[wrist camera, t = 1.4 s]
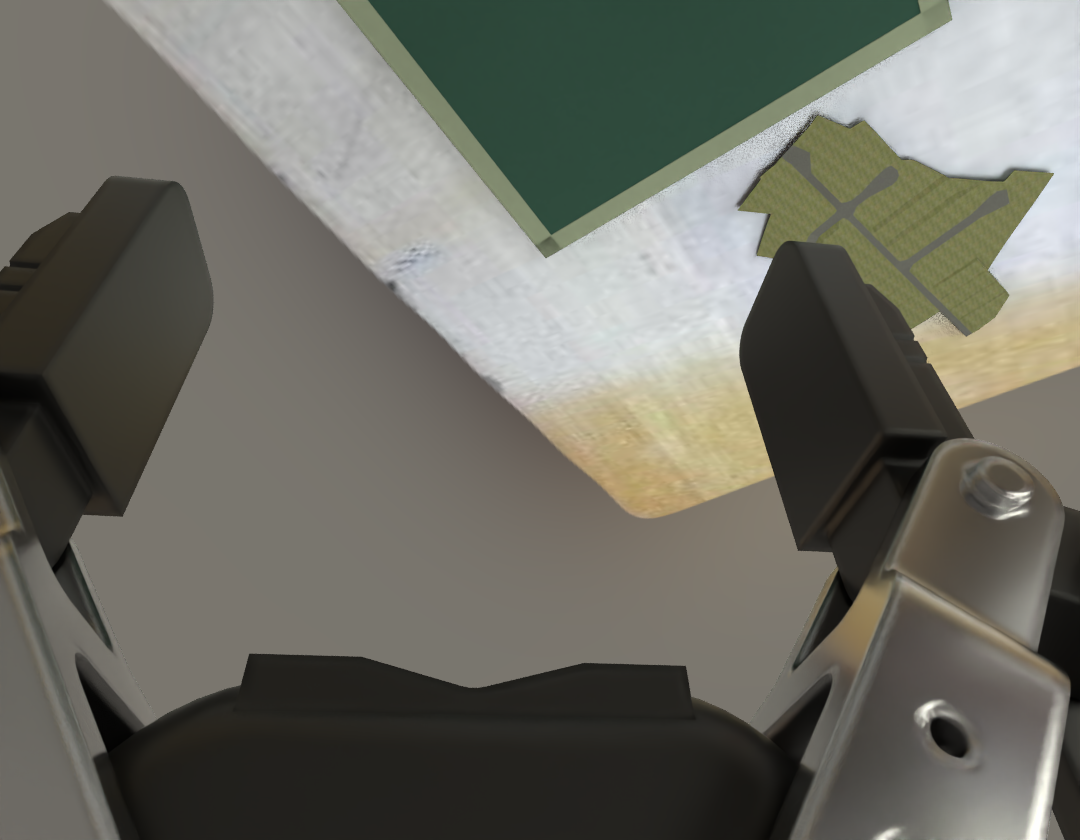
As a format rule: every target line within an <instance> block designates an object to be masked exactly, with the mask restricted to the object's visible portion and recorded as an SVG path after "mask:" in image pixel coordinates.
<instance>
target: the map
mask: <svg viewBox="0 0 1080 840" xmlns="http://www.w3.org/2000/svg"><path fill="white" fill-rule="evenodd" d="M1053 175H1054V173H1044V172H1030V171H1016V170H1014V171H1013V172H1012V173H1011V174H1010V176H1009V177H1008V178H1007V179H1006V180H1005V181H1004V182H999V181H980V180H970V179H958V178H948V177H946V176H945V175H943V174H941V173H939V172H937V171H935V170H933V169H931V168H929V167H927V166H925V165H923V164H921V163H919V162H917V161H914V160H901V159H900V158H899V157H898V156H897V155H896V154H895V152H894V151H893V150H892V149H891V148H890V147H889V146H888V145H887V144H886V143H885V142H884V141H883V140H882V139H881V138H880V136H879V135H878V134H877V133H876V132H875V131H874V130H873V129H872V128H871V127H870V126H869V125H868V124H867V123H866V122H865V121H862V122H860V123H859V124H857V125H855V126H854V127H852V128H847V127H845V126H842V125H840V124H837V123H835V122H833V121H830V120H828V119H825V118H823V117H820V116H818V115H817V117H816V118H815V119H814V121H813V122H812V124H811V125H810V126H809V128H808V129H807V130H806V131H805V132H804V133H803V134H802V135H801V136H800V137H799V138H798V139H797V141H796V142H795V143H794V144H793V145H792V146H791V147H790V148H789V149H788V150H787V152H786V153H785V154H784V155H783V156H782V157H781V158H780V159H779V160H778V162H777V163H776V164H775V165H774V166H773V167H772V168H770V169H769V170H768V171H767V172H765V173H764V174H763V175H762V176H761V177H759V178H761V180H760V181H759V183H758V184H757V185H756V187H755V188H754V189H753V190H752V192H751V193H750V194H749V196H748V197H747V198H746V200H745V201H744V202H743V204H742V205H741V206H740V208H739V209H738V211H747V212H757V213H766V214H771V215H770V218H769V220H768V223H767V226H766V229H765V232H764V234H763V237H762V240H761V243H760V246H759V249H758V253H757V256H762V257H769V258H774V256H775V254H776V252H777V250H778V249H779V247H780V246H781V245H782V244H783V243H784V242H786V241H800V242H810V243H821V244H832V245H840V246H842V247H843V248H845V250H846V251H847V253H848V254H849V256H850V258H851V260H852V262H853V264H854V265H855V267H856V269H857V271H858V273H859V274H860V276H861V278H862V280H863V282H864V284H872V285H873V286H874V287H875V288H876V289H877V290H878V291H879V292H880V293H882V294H883V295H884V296H885V297H886V298H887V299H888V300H889V301H891V302H892V303H893V304H894V305H895V306H896V307H897V308H898V309H899V310H900V312H901V313H902V315H903V317H904V319H905V320H906V322H907V324H908V325H909V327H910V329H912V328H914V327H915V326H917V325H919V324H920V323H922V322H924V321H925V320H927V319H928V318H930V317H932V316H933V315H935V314H936V313H938V312H941V313H942V314H943V315H944V316H945V317H946V318H947V319H949V320H950V321H951V322H952V323H953V324H954V325H955V326H956V327H957V328H958V329H959V330H960V331H961V332H962V333H963V334H964V335H965V336H968V335H970V334H971V333H973V332H975V331H977V330H979V329H980V328H981V327H983V326H984V325H985V324H987V323H988V322H989V321H991V320H992V319H993V318H995V317H996V315H997V314H998V312H999V310H1000V309H1001V307H1002V306H1003V304H1004V303H1005V301H1006V300H1007V298H1008V297H1009V294H1008V293H1007V291H1006V290H1005V289H1004V288H1003V287H1002V286H1001V285H1000V284H999V282H998V281H997V280H996V279H995V278H994V277H993V276H992V275H991V274H990V272H989V271H988V269H989V267H990V266H991V264H992V262H993V261H994V259H995V258H996V256H997V255H998V253H999V252H1000V250H1001V249H1002V247H1003V246H1004V244H1005V243H1006V241H1007V240H1008V238H1009V237H1010V236H1011V234H1012V233H1013V231H1014V230H1015V229H1016V227H1017V226H1018V224H1019V223H1020V222H1021V220H1022V219H1023V217H1024V216H1025V215H1026V213H1027V212H1028V210H1029V209H1030V208H1031V206H1032V205H1033V203H1034V202H1035V201H1036V199H1037V198H1038V196H1039V195H1040V193H1041V192H1042V190H1043V189H1044V188H1045V186H1046V185H1047V183H1048V182H1049V180H1050V179H1051V177H1052V176H1053ZM827 219H828V220H827ZM982 264H983V265H984V266H983V265H982Z"/></svg>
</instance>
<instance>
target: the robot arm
mask: <svg viewBox="0 0 1080 840" xmlns="http://www.w3.org/2000/svg"><path fill="white" fill-rule="evenodd" d="M212 314H213V288H212V282H211V278H210V274H209V271H208V267H207V263H206V260H205V256H204V253H203V249H202V246H201V242H200V238H199V235H198V231H197V228H196V224H195V221H194V217H193V213H192V210H191V206H190V203H189V200H188V197H187V194H186V192H185V190H184V189H183V187H182V186H181V185H180V184H179V183H177V182H174V181H164V180H154V179H142V178H132V177H121V176H111V177H110V178H108V179H107V180H106V181H105V182H104V183H103V185H102V186H101V187H100V189H99V190H98V191H97V192H96V194H95V195H94V196H93V197H92V199H91V200H90V201H89V203H88V204H87V205H86V206H85V208H84V209H83V210H82V212H81V213H74V212H69V213H67V214H65V215H63V216H62V217H60V218H58V219H57V220H55V221H53V222H51V223H50V224H48V225H46V226H45V227H43V228H41V229H39V230H38V231H36V232H34V233H33V234H31V236H30V237H29V238H28V239H27V240H26V242H25V243H24V244H23V245H22V247H21V248H20V249H19V250H18V251H17V252H16V254H15V255H14V256H13V257H12V258H11V260H10V267H6V266H5V267H4V268H3V269H2V270H1V272H0V840H1047V834H1048V828H1049V821H1050V816H1051V810H1053V813H1054V815H1055V817H1056V820H1057V822H1058V824H1059V827H1060V829H1061V832H1062V834H1063V837H1064V839H1065V840H1080V511H1077V510H1074V509H1071V508H1068V507H1065V506H1063V505H1062V502H1061V500H1060V497H1059V496H1058V494H1057V492H1056V491H1055V489H1054V488H1053V486H1052V485H1051V484H1050V483H1049V481H1048V480H1047V479H1046V478H1045V477H1044V476H1043V475H1042V474H1041V473H1040V472H1039V471H1038V470H1037V469H1036V468H1035V467H1033V466H1032V465H1031V464H1030V463H1028V462H1027V461H1025V460H1024V459H1022V458H1021V457H1019V456H1018V455H1016V454H1014V453H1013V452H1011V451H1009V450H1007V449H1005V448H1002V447H1000V446H998V445H995V444H992V443H989V442H986V441H982V440H977V439H974V437H973V435H972V434H971V432H970V430H969V429H968V427H967V425H966V423H965V422H964V420H963V418H962V417H961V415H960V413H959V411H958V410H957V408H956V406H955V405H954V403H953V401H952V399H951V398H950V396H949V394H948V392H947V391H946V389H945V387H944V386H943V384H942V382H941V380H940V379H939V377H938V375H937V374H936V372H935V370H934V368H933V367H932V365H931V364H929V363H926V360H927V356H926V355H925V353H924V351H923V349H922V348H921V346H920V344H919V343H918V341H914V334H913V332H912V331H911V329H910V327H909V325H908V324H907V322H906V320H905V319H904V317H903V315H902V313H901V312H900V310H899V309H898V308H897V307H896V306H895V305H894V304H893V303H892V302H891V301H889V300H888V299H887V298H886V297H885V296H884V295H883V294H882V293H880V292H879V291H878V290H877V289H876V288H875V287H874V286H873V285H872V284H864V282H863V280H862V278H861V276H860V274H859V273H858V271H857V269H856V267H855V265H854V264H853V262H852V260H851V258H850V256H849V254H848V253H847V251H846V250H845V248H843V247H842V246H840V245H832V244H821V243H810V242H800V241H786V242H784V243H783V244H782V245H781V246H780V247H779V249H778V250H777V252H776V254H775V256H774V258H773V260H772V262H771V265H770V267H769V269H768V272H767V274H766V276H765V279H764V281H763V283H762V286H761V288H760V290H759V292H758V295H757V297H756V299H755V302H754V304H753V306H752V309H751V311H750V313H749V316H748V318H747V320H746V322H745V325H744V328H743V331H742V335H741V340H740V350H739V357H740V366H741V370H742V373H743V376H744V379H745V382H746V386H747V389H748V392H749V395H750V398H751V402H752V405H753V408H754V411H755V414H756V418H757V421H758V424H759V427H760V430H761V434H762V437H763V440H764V443H765V446H766V450H767V453H768V456H769V459H770V462H771V465H772V469H773V472H774V475H775V478H776V481H777V485H778V488H779V491H780V494H781V497H782V500H783V504H784V507H785V510H786V513H787V517H788V520H789V523H790V526H791V529H792V533H793V536H794V539H795V542H796V545H797V549H798V551H819V552H833V555H834V558H835V561H836V564H837V567H836V568H835V569H834V571H833V572H832V573H831V574H830V576H829V577H828V579H827V580H826V582H825V584H824V586H823V588H822V590H821V592H820V594H819V596H818V598H817V600H816V603H815V604H814V607H813V609H812V611H811V613H810V615H809V617H808V619H807V621H806V623H805V625H804V627H803V629H802V631H801V633H800V635H799V637H798V639H797V641H796V643H795V645H794V647H793V649H792V652H791V653H790V656H789V657H788V659H787V661H786V663H785V666H784V668H783V670H782V672H781V674H780V676H779V678H778V680H777V682H776V683H775V685H774V687H773V688H772V690H771V692H770V694H769V695H768V697H767V698H766V699H765V701H764V702H763V704H762V705H761V706H760V708H759V709H758V711H757V712H756V714H755V716H754V717H753V719H752V720H751V722H750V723H749V724H748V723H746V722H744V721H743V720H741V719H739V718H737V717H736V716H734V715H732V714H730V713H729V712H727V711H725V710H723V709H721V708H719V707H716V706H714V705H712V704H709V703H707V702H705V701H703V700H700V699H697V698H694V697H691V694H690V688H689V682H688V676H687V670H686V666H668V665H634V664H630V665H629V664H598V663H582V664H578V665H574V666H570V667H566V668H561V669H557V670H553V671H549V672H545V673H541V674H536V675H532V676H529V677H524V678H520V679H516V680H511V681H507V682H503V683H499V684H495V685H491V686H487V687H482V688H468V687H463V686H459V685H456V684H452V683H449V682H445V681H442V680H439V679H435V678H432V677H428V676H425V675H422V674H418V673H415V672H411V671H408V670H405V669H401V668H398V667H395V666H391V665H388V664H384V663H381V662H378V661H374V660H371V659H367V658H363V657H348V656H313V655H277V654H276V655H275V654H249V657H248V661H247V664H246V668H245V672H244V676H243V679H242V684H241V685H240V686H236V687H232V688H228V689H224V690H222V691H219V692H216V693H213V694H210V695H208V696H205V697H202V698H199V699H196V700H194V701H192V702H190V703H188V704H186V705H184V706H182V707H180V708H178V709H175V710H173V711H171V712H169V713H167V714H165V715H164V716H162V717H160V718H159V719H157V718H156V717H155V714H154V712H153V710H152V709H151V707H150V705H149V703H148V701H147V699H146V697H145V696H144V694H143V692H142V691H141V689H140V687H139V686H138V684H137V682H136V680H135V679H134V677H133V675H132V673H131V671H130V669H129V667H128V665H127V662H126V660H125V658H124V656H123V653H122V651H121V649H120V646H119V644H118V642H117V639H116V637H115V635H114V632H113V630H112V627H111V625H110V623H109V620H108V618H107V616H106V613H105V611H104V609H103V606H102V604H101V602H100V599H99V597H98V595H97V592H96V590H95V588H94V585H93V583H92V580H91V578H90V576H89V573H88V571H87V569H86V566H85V564H84V562H83V559H82V557H81V555H80V552H79V550H78V548H77V546H76V545H75V543H74V541H73V540H72V539H71V536H72V534H73V532H74V530H75V528H76V526H77V524H78V522H79V520H80V518H81V516H82V515H100V516H123V514H124V512H125V510H126V508H127V506H128V503H129V501H130V499H131V497H132V495H133V492H134V490H135V488H136V486H137V483H138V481H139V479H140V477H141V475H142V473H143V471H144V468H145V466H146V464H147V462H148V460H149V457H150V455H151V453H152V451H153V449H154V446H155V444H156V442H157V440H158V438H159V436H160V433H161V431H162V429H163V427H164V425H165V422H166V420H167V418H168V416H169V414H170V412H171V409H172V407H173V405H174V403H175V400H176V398H177V396H178V394H179V392H180V390H181V387H182V385H183V383H184V381H185V379H186V376H187V374H188V372H189V370H190V367H191V366H192V363H193V361H194V359H195V357H196V355H197V352H198V350H199V348H200V346H201V344H202V341H203V339H204V337H205V335H206V333H207V331H208V328H209V326H210V322H211V319H212Z"/></svg>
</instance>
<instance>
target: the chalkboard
mask: <svg viewBox="0 0 1080 840" xmlns="http://www.w3.org/2000/svg"><path fill="white" fill-rule="evenodd" d="M337 2H338V3H339V4H340V5H341V7H342V8H343V9H344V10H345V11H346V13H347V14H348V15H349V16H350V18H351V19H352V20H353V21H354V23H355V24H356V25H357V26H358V27H359V29H360V30H361V31H362V32H363V34H364V35H365V36H366V37H367V39H368V40H369V41H370V42H371V43H372V45H373V46H374V47H375V48H376V50H377V51H378V52H379V53H380V55H381V56H382V57H383V58H384V60H385V61H386V62H387V63H388V64H389V66H390V67H391V68H392V69H393V71H394V72H395V73H396V74H397V76H398V77H399V78H400V79H401V80H402V82H403V83H404V84H405V85H406V87H407V88H408V89H409V90H410V92H411V93H412V94H413V95H414V96H415V98H416V99H417V100H418V101H419V103H420V104H421V105H422V106H423V108H424V109H425V110H426V111H427V113H428V114H429V115H430V116H431V117H432V119H433V120H434V121H435V122H436V124H437V125H438V126H439V127H440V129H441V130H442V131H443V132H444V133H445V135H446V136H447V137H448V138H449V140H450V141H451V142H452V143H453V145H454V146H455V147H456V148H457V149H458V151H459V152H460V153H461V154H462V156H463V157H464V158H465V159H466V161H467V162H468V163H469V164H470V165H471V167H472V168H473V169H474V170H475V172H476V173H477V174H478V175H479V177H480V178H481V179H482V180H483V182H484V183H485V184H486V185H487V186H488V188H489V189H490V190H491V191H492V193H493V194H494V195H495V196H496V198H497V199H498V200H499V201H500V202H501V204H502V205H503V206H504V207H505V209H506V210H507V211H508V212H509V214H510V215H511V216H512V217H513V218H514V220H515V221H516V222H517V223H518V225H519V226H520V227H521V228H522V230H523V231H524V232H525V233H526V234H527V236H528V237H529V238H530V239H531V241H532V242H533V243H534V244H535V246H536V247H537V248H538V249H539V251H540V252H541V253H542V254H543V255H544V257H545V258H547V257H549V256H551V255H552V254H554V253H556V252H558V251H559V250H561V249H563V248H564V247H566V246H568V245H570V244H571V243H573V242H575V241H576V240H578V239H580V238H581V237H583V236H585V235H587V234H588V233H590V232H592V231H593V230H595V229H597V228H598V227H600V226H602V225H604V224H605V223H607V222H609V221H610V220H612V219H614V218H616V217H617V216H619V215H621V214H622V213H624V212H626V211H627V210H629V209H631V208H633V207H634V206H636V205H638V204H639V203H641V202H643V201H644V200H646V199H648V198H650V197H651V196H653V195H655V194H656V193H658V192H660V191H662V190H663V189H665V188H667V187H668V186H670V185H672V184H673V183H675V182H677V181H679V180H680V179H682V178H684V177H685V176H687V175H689V174H690V173H692V172H694V171H696V170H697V169H699V168H701V167H702V166H704V165H706V164H708V163H709V162H711V161H713V160H714V159H716V158H718V157H719V156H721V155H723V154H725V153H726V152H728V151H730V150H731V149H733V148H735V147H736V146H738V145H740V144H742V143H743V142H745V141H747V140H748V139H750V138H752V137H754V136H755V135H757V134H759V133H760V132H762V131H764V130H765V129H767V128H769V127H771V126H772V125H774V124H776V123H777V122H779V121H781V120H782V119H784V118H786V117H788V116H789V115H791V114H793V113H794V112H796V111H798V110H800V109H801V108H803V107H805V106H806V105H808V104H810V103H811V102H813V101H815V100H817V99H818V98H820V97H822V96H823V95H825V94H827V93H828V92H830V91H832V90H834V89H835V88H837V87H839V86H840V85H842V84H844V83H846V82H847V81H849V80H851V79H852V78H854V77H856V76H857V75H859V74H861V73H863V72H864V71H866V70H868V69H869V68H871V67H873V66H874V65H876V64H878V63H880V62H881V61H883V60H885V59H886V58H888V57H890V56H892V55H893V54H895V53H897V52H898V51H900V50H902V49H903V48H905V47H907V46H909V45H910V44H912V43H914V42H915V41H917V40H919V39H920V38H922V37H924V36H926V35H927V34H929V33H931V32H932V31H934V30H936V29H938V28H939V27H941V26H943V25H944V24H946V23H948V22H949V21H951V20H952V16H951V11H950V7H949V2H948V0H337Z"/></svg>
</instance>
